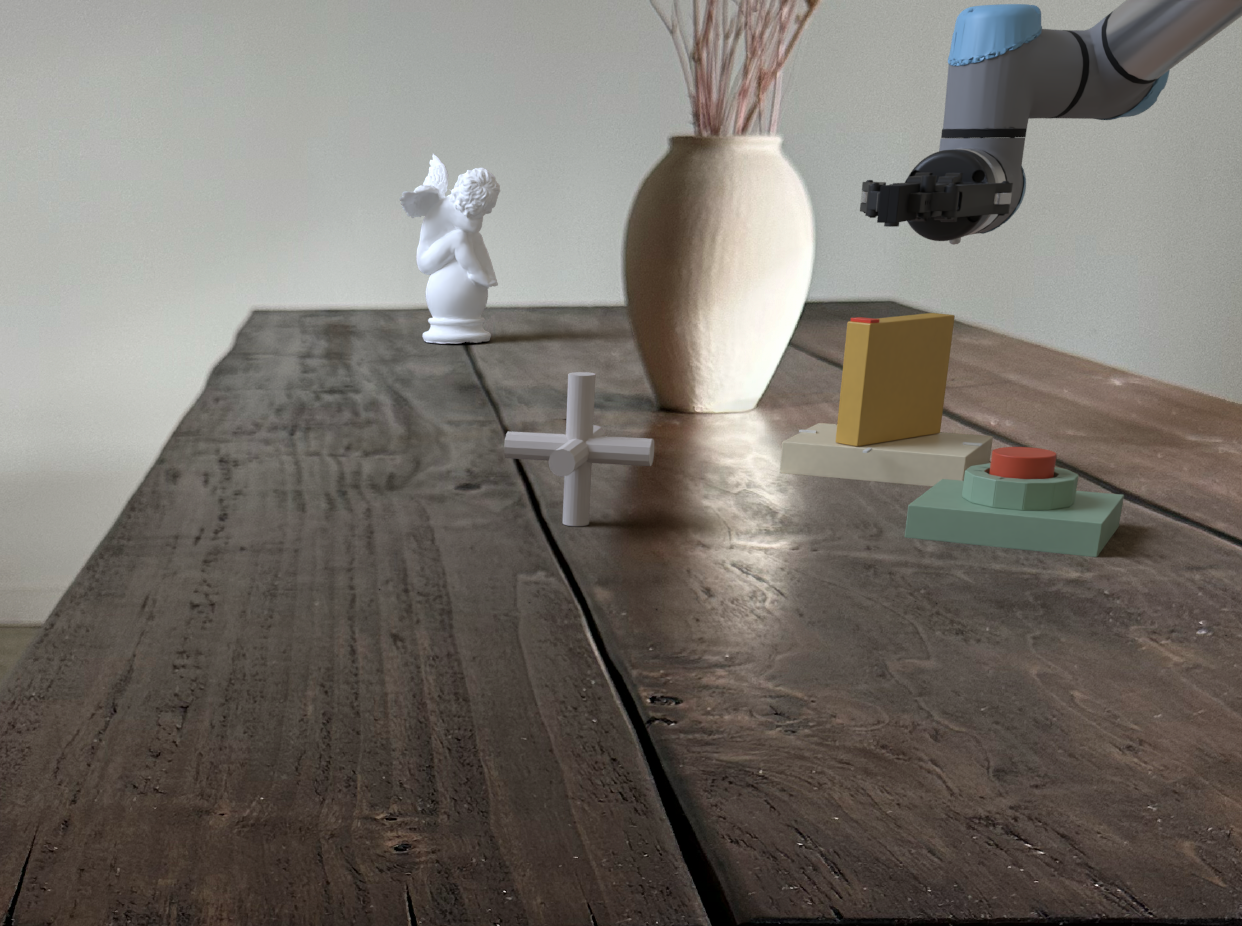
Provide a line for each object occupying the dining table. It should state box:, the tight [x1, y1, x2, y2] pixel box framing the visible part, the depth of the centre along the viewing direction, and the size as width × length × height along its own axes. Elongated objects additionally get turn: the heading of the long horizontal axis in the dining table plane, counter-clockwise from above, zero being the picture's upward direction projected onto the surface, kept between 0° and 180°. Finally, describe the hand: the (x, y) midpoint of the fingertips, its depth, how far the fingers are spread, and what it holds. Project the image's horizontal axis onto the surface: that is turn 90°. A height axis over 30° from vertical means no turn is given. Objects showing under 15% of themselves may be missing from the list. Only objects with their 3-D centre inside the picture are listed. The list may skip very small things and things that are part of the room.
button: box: [989, 446, 1057, 479], centre depth 111 cm, size 4×4×2 cm
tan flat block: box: [835, 312, 956, 446], centre depth 130 cm, size 10×2×9 cm, turn 126°
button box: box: [904, 462, 1125, 558], centre depth 112 cm, size 12×10×4 cm
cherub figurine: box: [399, 152, 501, 345], centre depth 209 cm, size 12×12×22 cm
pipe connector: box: [503, 371, 655, 527], centre depth 114 cm, size 10×10×10 cm
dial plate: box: [779, 422, 994, 488], centre depth 133 cm, size 14×14×3 cm
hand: (888, 204), depth 132 cm, fingers closed
